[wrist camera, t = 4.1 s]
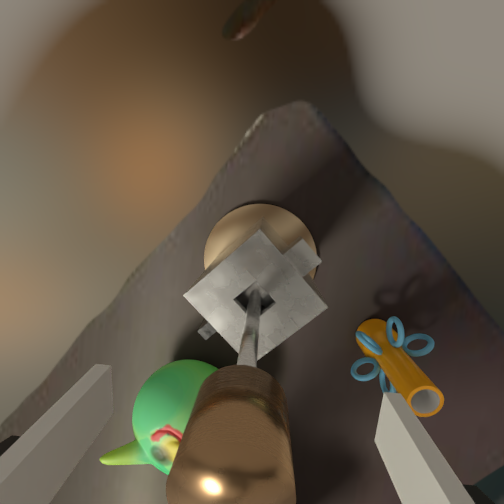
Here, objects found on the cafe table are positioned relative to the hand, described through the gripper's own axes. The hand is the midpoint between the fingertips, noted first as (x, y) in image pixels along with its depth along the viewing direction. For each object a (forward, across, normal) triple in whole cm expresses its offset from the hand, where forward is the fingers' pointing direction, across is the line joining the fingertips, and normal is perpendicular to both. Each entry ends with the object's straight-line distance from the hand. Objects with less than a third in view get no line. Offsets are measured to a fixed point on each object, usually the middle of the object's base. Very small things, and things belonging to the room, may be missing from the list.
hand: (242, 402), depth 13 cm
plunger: (+16, 0, 0) cm, 16 cm away
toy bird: (+31, +9, +25) cm, 41 cm away
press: (+30, 0, 0) cm, 30 cm away
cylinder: (+31, -20, +12) cm, 39 cm away
